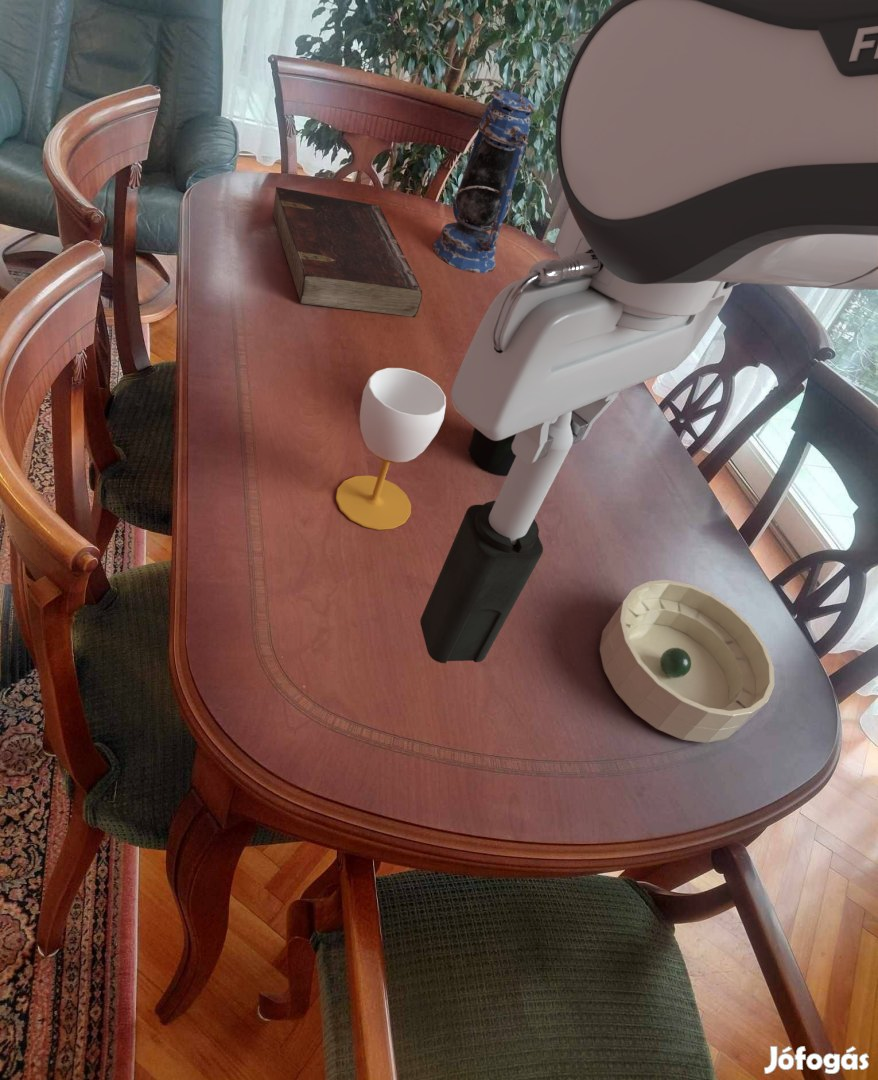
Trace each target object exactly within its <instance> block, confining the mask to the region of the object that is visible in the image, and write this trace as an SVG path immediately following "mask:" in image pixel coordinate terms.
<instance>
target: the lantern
mask: <svg viewBox="0 0 878 1080" xmlns="http://www.w3.org/2000/svg"><path fill="white" fill-rule="evenodd" d="M516 85H517V86H518V87H519V88H520V90H519V93H518V92H514V91H513V90H514V89H515V86H516ZM523 94H524V85H523V83H521V82H519V80H515V81H513V83H512V85H511V87H510V88H509V87H507V88H506V89H499V90H492V91H491V92H490V96H491V98H492V100H491V101H489V102H488V103H487V105H486V109H485V111H484V114H483V115H482V118H481V120H480V122H479V124H477V129H478V131H477V134H476V137H475V139H474V143H473V145H472V150H471V151H470V154H469V158H468V160H467V164H466V166H465V169H464V172H463V174H462V178H461V181H460V184H459V186H458V188H457V190H456V192H455V194H454V196H453V199H452V200H453V202H452V203H453V204H452V212H453V216H454V218H455V221H456V222H450V223H446V224H445V225H444V226H443V227H442V230H441V233H440V236H439V237H438V238H437V239H436V240H435V242H433V243H432V251H433V252H434V253H435V255H436V256H437V257H438V259H440V260H442V261H443V262H444V263H446V264H447V265H449V266H452V267H454V268H457V269H459V270H461V271H465V272H470V273H472V274H473V273H475V274H487V273H489V272H493V271H494V270H495V268H496V267H497V264H496V257H495V255H496V252H497V248H498V244H497V243H498V239H499V236H500V232H501V229H502V225H503V222H504V220H505V218H506V217H507V215H508V213H509V211H510V207H511V203H512V194H513V193H512V192H513V189H514V185H515V182H516V179H517V175H518V172H519V168H520V165H521V162H522V159H523V155H524V152H525V148H526V146H528V144H529V138H528V137H529V134H530V132H529V131H530V127H531V125H532V120H531V118H530V117H531V115H532V112H533V113H534V112H535V111H536V110H537V108H536V106H535V104H534V103H532V101H531V100H530V99H529V98H528V97H525V96H524V95H523ZM489 231H490V233H489Z"/></svg>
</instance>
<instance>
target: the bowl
mask: <svg viewBox="0 0 878 1080" xmlns="http://www.w3.org/2000/svg"><path fill="white" fill-rule="evenodd" d="M670 648H680V649H682V650H684V651H686V652H687V653H688V655H689V656H690V659H691V668H690V670H689V672H688V673H687V674H686V675H685V676H683V677H680V678H673V677H670V676H668V675H666V674H665V673H664V672H663V670H662V668H661V665H660V659H661V656H662V654H663V653H664V652H665V651H666V650H668V649H670ZM599 653H600V659H601V663H602V668H603V671H604V673H605V675H606V677H607V679H608V680H609V683H610V684H611V686H612V688H613V690H614V691H615V693H616V694H617V696H619V698H620V699H621V700H622V701H623V702H624V703H625V704H626V706H628V708H629V709H630V710H631V711H632V712H633V713H634V714H635V715H636V716H638V717H640V718H641V719H642V720H644V721H645V722H646V723H647V724H649V725H650V726H652V727H653V728H654V729H656V730H658V731H660V732H663V733H665V734H667V735H670V736H672V737H675V738H677V739H680V740H682V741H690V742H695V743H703V744H708V743H714V742H718V741H724V740H727V739H728V738H730V737H731V736H733V734H735V733H736V732H738V731H739V730H740V729H742V727H744V725H745V724H747V722H749V720H751V719H752V718H753V717H754V716H755V715H756V714H757V713H758V712H759V711H760V710H761V709H762V708H763V707H764V706H765V705H766V704H767V703H768V702H769V700H770V697H771V696H772V693H773V691H774V688H775V667H774V663H773V661H772V658H771V655H770V653H769V650H768V647H767V646H766V643H765V642H764V641H763V639H762V638H761V637H760V635H759V634H758V632H757V631H756V629H755V628H754V627H753V625H752V624H751V623H750V622H749V621H748V620H747V619H745V617H743V616H742V615H741V614H740V613H739V612H738V611H737V610H736V608H734V607H733V606H731V605H729V604H728V603H727V602H726V601H725V600H722V599H721V598H719V597H718V596H716V595H715V594H713V593H711V592H709V591H707V590H705V589H702V588H700V587H697V586H695V585H692V584H690V583H686V582H681V581H675V580H671V579H660V580H648V581H645V582H643V583H641V584H640V585H637V586H635V587H634V588H632V589H631V590H630V592H629V593H628V594H627V595H626V596H625V597H624V599H623V600H622V602H621V603H620V605H619V606H618V607H617V609H616V611H615V613H614V614H613V615H612V617H610V619H609V621H608V622H607V624H606V626H605V627H604V628H603V630H602V631H601V638H600V644H599Z"/></svg>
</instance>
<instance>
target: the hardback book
mask: <svg viewBox="0 0 878 1080" xmlns="http://www.w3.org/2000/svg"><path fill="white" fill-rule="evenodd" d="M380 206H381V205H379V204H372V203H366V202H361V201H356V200H350V199H345V198H339V197H334V196H328V195H323V194H317V193H312V192H306V191H301V190H295V189H289V188H283V187H279V186H275V192H274V199H273V207H272V215H273V218H274V221H275V225H276V229H277V232H278V235H279V238H280V241H281V245H282V248H283V250H284V251H283V252H284V254H285V257H286V261H287V263H288V264H287V265H288V267H289V270H290V273H291V277H292V279H293V282H294V285H295V289H296V292H297V295H298V299H299V301H300V304H304V305H313V306H321V307H329V308H337V309H346V310H354V311H361V312H368V313H369V312H370V313H378V314H385V315H386V314H387V315H396V316H403V317H410V318H411V317H412V318H415V317H416V316H417V314H418V312H419V309H420V307H421V304H422V299H423V289H422V288H421V286H420V284H419V282H418V280H417V277H416V275H415V274H414V272H413V270H412V268H411V266H410V264H409V262H408V260H407V258H406V255H405V254H404V252H403V250H402V248H401V246H400V244H399V242H398V240H397V238H396V236H395V234H394V231H393V230H392V228H391V226H390V225H389V222H388V220H387V218H386V216H385V214H384V212H383V210H382V209H381V207H380Z"/></svg>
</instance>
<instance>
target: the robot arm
mask: <svg viewBox="0 0 878 1080" xmlns="http://www.w3.org/2000/svg"><path fill="white" fill-rule="evenodd" d="M565 77H566V78H565V81H564V84H563V87H562V91H561V94H560V99H559V102H558V107H557V112H556V119H555V120H556V121H555V135H554V139H555V140H554V145H555V157H556V158H555V159H556V165H557V170H558V175H559V180H560V184H561V188H562V190H563V193H564V197H565V199H566V202H567V205H568V208H567V211H566V213H565V216H564V218H563V221H562V222H561V225H560V228H559V231H558V233H557V236H556V238H555V241H554V247H555V248H554V249H555V253H556V254H557V256H558V258H559V259H555V258H547V259H542V260H540V261H538V262H535V264H533V265H532V266H531V267H530V269H529V272H528V274H527V275H525V276H524V277H523V278H520V279H517V280H515V281H512V282H511V283H509V284H508V285H506V286H505V287H504V288H503V289H502V290H500V292H499V293H498V294H497V295H496V296H495V297H494V298H493V300H492V301H491V303H490V305H489V306H488V308H487V309H486V311H485V314H484V315H483V317H482V319H481V321H480V323H479V325H478V327H477V329H476V331H475V333H474V335H473V338H472V340H471V342H470V344H469V346H468V348H467V351H466V353H465V355H464V357H463V359H462V362H461V364H460V366H459V369H458V371H457V374H456V376H455V378H454V381H453V383H452V386H451V390H450V399H451V401H452V405H453V407H454V409H455V411H456V412H457V413H458V414H459V415H460V416H461V417H462V418H463V419H464V420H465V421H467V423H469V424H470V425H471V426H472V427H473V428H476V429H477V430H479V431H480V432H481V433H482V434H484V435H485V436H486V437H488V438H489V439H491V440H494V441H498V440H502V439H505V438H507V437H510V436H512V435H514V434H516V436H515V438H514V441H513V443H512V451H513V453H514V454H515V455H516V456H517V457H518V458H520V459H521V460H522V461H523V462H524V463H526V464H531V463H533V462H535V461H537V460H539V459H541V458H543V457H545V456H546V455H547V453H548V449H549V448H550V447H551V445H552V443H553V440H554V438H553V437H551V436H550V435H549V434H548V430H549V425H550V424H553V423H555V422H556V421H557V419H558V416H561V415H563V414H566V413H568V412H571V411H572V415H571V422H570V426H571V430H572V435H573V444H572V445H574V444H577V443H579V442H581V441H584V440H585V439H586V438H587V437H588V435H589V432H590V431H591V429H592V426H593V425H594V423H595V422H596V421H597V420H598V419H599V418H600V416H602V414H603V413H604V412H605V411H606V410H607V409H608V407H610V406H611V405H612V404H613V402H615V400H616V399H617V397H618V395H619V394H620V392H623V391H625V390H628V389H629V388H632V387H634V386H637V385H639V384H642V383H644V382H647V381H649V380H651V379H654V378H656V377H659V376H661V375H664V374H666V373H668V372H672V371H674V370H676V369H677V368H679V366H680V365H682V364H683V362H684V361H686V360H687V358H689V356H690V355H691V354H692V353H693V352H694V351H695V350H696V348H697V346H698V345H699V344H700V342H701V340H703V338H704V336H705V335H706V333H707V332H708V330H709V329H710V327H711V326H712V325H713V323H714V321H715V320H716V318H717V317H718V315H719V314H720V312H721V311H722V309H723V307H724V306H725V304H726V302H727V301H728V299H729V298H730V295H731V293H732V291H733V288H734V287H735V286H738V285H741V284H751V285H752V284H753V285H766V286H767V285H768V286H783V287H797V288H816V289H831V290H854V291H866V290H867V291H878V0H614V1H613V2H612V3H611V4H610V5H609V7H608V8H607V9H606V10H605V11H604V12H603V14H601V16H600V17H599V19H598V20H597V21H596V23H595V24H594V26H593V27H592V28H591V30H590V31H589V33H588V34H587V35H586V36H585V39H584V40H583V41H582V43H581V45H580V47H579V49H578V50H577V52H576V54H575V56H574V58H573V61H572V63H571V65H570V68H569V69H568V73H567V75H566V76H565Z"/></svg>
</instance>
